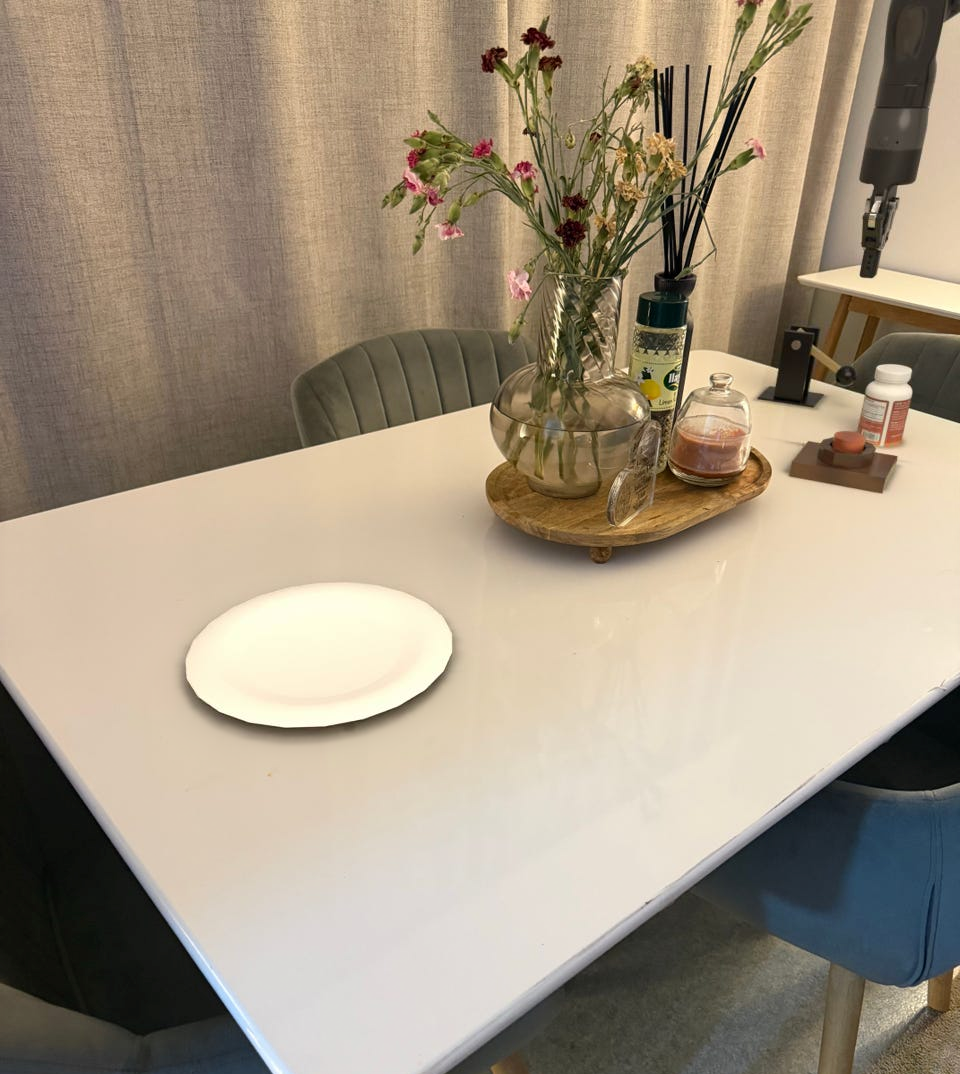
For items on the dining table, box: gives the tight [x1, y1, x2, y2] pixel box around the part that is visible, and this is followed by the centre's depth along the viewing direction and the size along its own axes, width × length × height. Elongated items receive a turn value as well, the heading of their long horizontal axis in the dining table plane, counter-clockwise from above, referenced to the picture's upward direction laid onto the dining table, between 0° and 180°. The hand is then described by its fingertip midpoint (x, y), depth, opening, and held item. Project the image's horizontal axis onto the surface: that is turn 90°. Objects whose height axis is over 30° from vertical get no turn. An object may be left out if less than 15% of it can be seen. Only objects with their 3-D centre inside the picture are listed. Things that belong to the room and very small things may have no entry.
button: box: [832, 430, 866, 452], centre depth 122 cm, size 4×4×2 cm
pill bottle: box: [857, 363, 913, 447], centre depth 131 cm, size 6×6×11 cm
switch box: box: [788, 436, 899, 495], centre depth 124 cm, size 12×9×4 cm
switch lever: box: [797, 328, 858, 387], centre depth 145 cm, size 12×3×3 cm, turn 60°
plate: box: [184, 581, 453, 730], centre depth 87 cm, size 25×25×2 cm
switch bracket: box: [757, 324, 825, 409], centre depth 147 cm, size 9×7×12 cm
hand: (867, 276), depth 136 cm, fingers closed
